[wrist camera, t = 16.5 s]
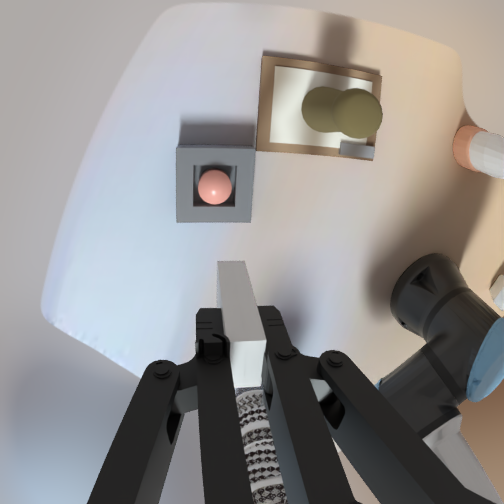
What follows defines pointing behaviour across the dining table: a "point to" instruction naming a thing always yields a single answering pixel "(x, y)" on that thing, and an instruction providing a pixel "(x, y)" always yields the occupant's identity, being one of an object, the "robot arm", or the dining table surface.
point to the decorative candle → (260, 450)
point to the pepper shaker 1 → (342, 111)
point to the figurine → (498, 292)
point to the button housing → (201, 159)
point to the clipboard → (290, 103)
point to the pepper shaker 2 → (479, 150)
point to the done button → (214, 186)
